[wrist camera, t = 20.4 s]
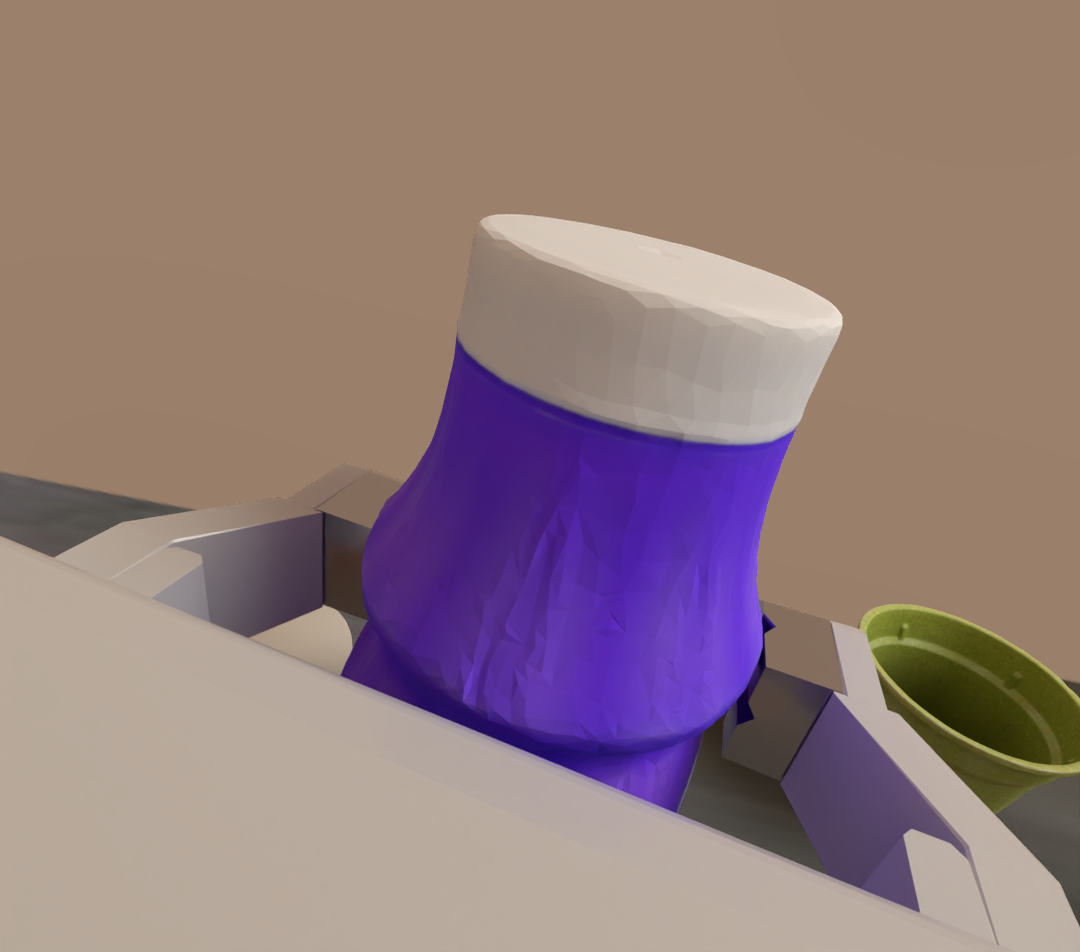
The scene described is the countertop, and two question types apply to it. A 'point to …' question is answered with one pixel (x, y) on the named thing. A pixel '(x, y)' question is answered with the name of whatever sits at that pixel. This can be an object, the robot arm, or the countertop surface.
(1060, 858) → the countertop surface
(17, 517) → the countertop surface
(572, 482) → the bottle
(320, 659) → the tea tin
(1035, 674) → the plant pot
